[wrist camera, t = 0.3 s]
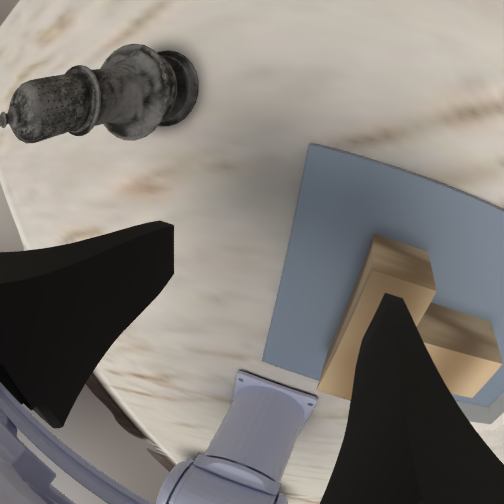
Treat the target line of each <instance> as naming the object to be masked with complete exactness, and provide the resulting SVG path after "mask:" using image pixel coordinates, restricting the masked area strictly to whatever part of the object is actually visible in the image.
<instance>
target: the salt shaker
mask: <svg viewBox="0 0 504 504" xmlns="http://www.w3.org/2000/svg"><path fill="white" fill-rule="evenodd" d="M197 95H198V78H197V73H196V70H195V69H194V67H193V65H192V63H191V62H190V61H189V60H188V59H187V58H186V57H185V56H183V55H182V54H180V53H178V52H173V51H162V52H158V53H156V52H155V51H154V50H153V49H151V48H149V47H147V46H145V45H139V44H130V45H126V46H122V47H121V48H119V49H117V50H116V51H114V52H113V53H112V54H111V55H110V56H109V57H108V58H107V59H106V61H105V62H104V64H103V65H102V67H101V69H96V70H91V69H89V68H88V67H86V66H82V65H78V66H74V67H72V68H71V69H69V70H68V71H67V72H66V73H65V75H58V76H51V77H45V78H40V79H34V80H30V81H27V82H25V83H23V84H22V85H21V86H20V87H19V88H18V89H17V90H16V91H15V93H14V94H13V97H12V99H11V102H10V106H9V110H8V113H7V114H5V113H4V112H2V113H1V115H0V126H2V127H3V128H5V127H6V125H7V124H9V125H10V126H11V128H12V131H13V132H14V134H15V135H16V137H17V138H18V139H19V140H21V141H23V142H25V143H36V142H39V141H42V140H45V139H48V138H51V137H54V136H57V135H60V134H63V133H66V132H69V133H70V134H72V135H75V136H83V135H85V134H87V133H89V131H90V130H91V129H92V128H93V127H94V126H96V125H100V124H104V126H105V127H106V128H107V130H108V131H109V132H111V133H112V134H113V135H115V136H116V137H118V138H121V139H123V140H137V139H140V138H143V137H146V136H147V135H149V134H150V133H151V132H153V131H154V130H155V129H156V127H157V126H170V125H174V124H177V123H178V122H180V121H182V120H183V119H185V117H186V116H187V115H188V114H189V113H190V112H191V110H192V108H193V106H194V105H195V103H196V99H197Z"/></svg>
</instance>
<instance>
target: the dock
mask: <svg viewBox="0 0 504 504" xmlns="http://www.w3.org/2000/svg"><path fill="white" fill-rule="evenodd" d="M456 402H457V404H458V406H459V407H460V409H461V410H462V412H463V413H464V415H465V416H466V417H467V419H468V420H469V422H470V423H471V425H472V426H473V427H474V429H475V430H476V432H478V433H481V432H482V431H483V430H487V431H496V430H497V429H498V428H499V427H500V426H502V425H503V424H504V392H503V393H502V394H501V395H500V396H499V397H498V398H497V399H496V400H495V401H494V402H493V403H492V404H491V405H490V406H489V407H485V406H480V405H474V404H469V403H464V402H459V401H456Z"/></svg>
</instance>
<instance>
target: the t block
mask: <svg viewBox="0 0 504 504" xmlns="http://www.w3.org/2000/svg"><path fill="white" fill-rule="evenodd" d="M436 292H437V290H436V285H435V281H434V276H433V271H432V267H431V263H430V259H429V254H428V252H427V251H424V250H421V249H418V248H415V247H412V246H409V245H406V244H403V243H400V242H397V241H394V240H391V239H388V238H385V237H382V236H379V235H376V234H374V235H373V238H372V241H371V244H370V247H369V250H368V252H367V255H366V258H365V261H364V263H363V266H362V269H361V271H360V274H359V277H358V279H357V282H356V285H355V287H354V290H353V292H352V295H351V297H350V300H349V302H348V305H347V307H346V310H345V312H344V314H343V317H342V319H341V321H340V324H339V326H338V328H337V331H336V333H335V335H334V338H333V340H332V342H331V344H330V347H329V349H328V352H327V356H326V359H325V363H324V366H323V370H322V373H321V377H320V380H319V383H318V387H317V391H320V392H324V393H327V394H330V395H333V396H337V397H340V398H344V399H347V400H351V396H352V389H353V382H354V375H355V368H356V363H357V359H358V354H359V350H360V346H361V342H362V338H363V337H364V335H365V333H366V331H367V329H368V327H369V325H370V323H371V321H372V319H373V317H374V315H375V313H376V311H377V308H378V306H379V304H380V302H381V300H382V298H383V296H384V294H385V293H388V294H391V295H394V296H397V297H400V298H403V300H404V302H405V303H406V306H407V308H408V310H409V312H410V314H411V316H412V318H413V321H414V323H415V325H416V327H417V329H418V331H419V333H420V336H421V338H422V340H423V342H424V344H425V346H426V348H427V350H428V352H429V354H430V356H431V358H432V360H433V362H434V364H435V366H436V368H437V370H438V372H439V373H440V375H441V377H442V379H443V381H444V382H445V384H446V386H447V388H448V389H449V391H450V392H451V394H455V395H460V396H465V397H470V398H473V397H474V396H475V395H476V394H477V392H478V391H479V390H480V389H481V388H482V387H483V386H484V385H485V384H486V383H487V382H488V381H489V379H490V378H491V377H492V376H493V375H494V374H495V373H496V371H497V370H498V369H499V368H500V367H501V365H502V364H503V363H502V359H501V355H500V351H499V348H498V344H497V340H496V337H495V334H494V330H493V327H492V324H491V322H490V321H487V320H484V319H481V318H478V317H474V316H471V315H468V314H465V313H462V312H459V311H456V310H453V309H450V308H447V307H444V306H440V305H437V304H434V303H431V301H432V299H433V297H434V295H435V293H436Z"/></svg>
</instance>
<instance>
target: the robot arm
mask: <svg viewBox="0 0 504 504" xmlns="http://www.w3.org/2000/svg"><path fill="white" fill-rule="evenodd" d="M173 274H174V225H172V224H169V223H165V222H162V221H154V222H149V223H145V224H141V225H137V226H133V227H130V228H126V229H122V230H119V231H115V232H112V233H109V234H105V235H101V236H98V237H94V238H90V239H86V240H82V241H79V242H75V243H70V244H66V245H61V246H55V247H50V248H44V249H36V250H27V251H19V252H0V504H75V503H74V502H73V501H71V500H70V499H69V498H67V497H66V496H65V495H64V494H62V493H61V492H60V491H59V490H57V489H56V488H55V487H54V486H52V485H51V484H50V483H51V482H52V481H53V480H54V478H55V477H56V474H55V473H54V472H53V471H52V470H51V469H50V468H49V467H48V466H47V465H46V464H45V463H44V462H42V461H41V460H40V459H39V458H38V457H37V456H36V455H35V454H34V453H33V452H32V451H30V450H29V449H28V448H27V447H26V446H25V445H24V444H23V443H22V442H21V441H20V440H19V439H18V438H17V428H18V429H19V430H20V431H21V432H22V433H23V434H24V435H25V436H26V437H27V438H28V439H29V440H30V441H31V442H32V443H33V444H34V445H35V446H36V447H37V448H38V449H40V451H42V452H43V453H44V454H45V455H46V456H47V457H48V458H49V459H51V460H52V461H53V462H54V463H55V464H56V465H58V466H59V467H60V468H61V469H62V470H63V471H65V472H66V473H67V474H68V475H70V476H71V477H72V478H73V479H75V480H76V481H78V482H79V483H80V484H81V485H83V486H84V487H86V488H87V489H88V490H89V491H91V492H92V493H93V494H95V495H96V496H98V497H99V498H101V499H102V500H104V501H105V502H107V503H108V504H153V503H151V502H150V501H148V500H146V499H144V498H142V497H141V496H139V495H137V494H136V493H134V492H132V491H131V490H129V489H127V488H126V487H124V486H123V485H121V484H119V483H118V482H116V481H115V480H113V479H112V478H110V477H109V476H107V475H106V474H104V473H103V472H101V471H100V470H98V469H97V468H96V467H94V466H93V465H91V464H90V463H89V462H87V461H86V460H85V459H83V458H82V457H81V456H79V455H78V454H76V453H75V452H74V451H73V450H72V449H70V448H69V447H68V446H67V445H65V444H64V443H63V442H62V441H60V440H59V439H58V438H57V437H56V436H55V435H53V434H52V433H51V432H50V431H49V430H47V428H45V427H44V426H43V425H42V424H41V423H40V422H39V421H38V420H37V419H35V417H33V416H32V415H31V414H30V413H29V412H28V411H27V410H26V409H25V408H24V407H23V406H22V404H23V403H24V404H25V405H26V406H27V407H28V408H29V409H30V410H34V411H35V412H36V413H37V414H38V415H39V416H40V417H41V418H42V419H44V420H45V421H46V422H47V423H48V424H49V425H50V426H51V427H53V428H61V427H63V425H64V423H65V421H66V419H67V417H68V415H69V413H70V411H71V408H72V407H73V404H74V402H75V401H76V399H77V397H78V395H79V393H80V392H81V390H82V388H83V387H84V385H85V383H86V381H87V380H88V378H89V377H90V375H91V374H92V372H93V371H94V369H95V368H96V366H97V365H98V363H99V362H100V360H101V359H102V357H103V356H104V355H105V353H106V352H107V351H108V349H109V348H110V346H111V345H112V344H113V342H114V341H115V340H116V339H117V338H118V337H119V335H120V334H121V333H122V332H123V331H124V330H125V329H126V328H127V327H128V326H129V325H130V324H131V323H132V322H133V321H134V320H135V319H136V318H137V317H138V316H139V315H140V314H141V313H142V312H143V310H144V309H145V308H146V307H147V306H148V305H149V304H150V303H151V302H152V301H153V300H154V299H155V298H156V297H157V296H158V295H159V294H160V292H161V291H162V290H163V288H164V287H165V286H166V284H167V283H168V281H169V280H170V279H171V277H172V276H173ZM317 400H318V399H317V398H316V397H315V396H312V395H308V394H305V393H302V392H299V391H296V390H293V389H290V388H287V387H284V386H282V385H279V384H276V383H273V382H270V381H267V380H265V379H262V378H259V377H257V376H254V375H251V374H249V373H246V372H243V371H239V372H238V373H237V376H236V382H235V389H234V395H233V401H232V405H231V407H230V409H229V410H228V412H227V414H226V416H225V418H224V420H223V421H222V423H221V425H220V427H219V429H218V431H217V432H216V434H215V436H214V438H213V440H212V441H211V443H210V445H209V447H208V448H207V450H206V452H205V454H204V455H202V454H198V456H197V458H196V459H195V461H194V460H192V459H187V460H185V461H182V462H180V463H178V464H177V465H176V466H175V467H174V468H173V469H172V470H171V472H170V473H169V474H168V476H167V478H166V479H165V481H164V483H163V484H162V486H161V489H160V491H159V493H158V497H157V502H156V504H288V501H287V499H286V497H285V494H283V493H278V491H279V489H280V486H281V483H279V482H280V480H281V477H282V475H283V472H284V470H285V467H286V465H287V462H288V459H289V457H290V454H291V451H292V449H293V446H294V443H295V441H296V438H297V435H298V433H299V432H300V430H301V428H302V427H303V425H304V424H305V422H306V420H307V419H308V417H309V415H310V414H311V412H312V410H313V409H314V407H315V405H316V403H317ZM16 427H17V428H16ZM277 493H278V494H277ZM320 504H504V464H503V463H502V462H501V461H500V460H499V459H498V458H497V457H496V455H495V454H494V453H493V452H492V450H491V449H490V448H489V447H488V446H487V444H486V443H485V442H484V441H483V439H482V438H481V437H480V435H479V434H478V433H477V432H476V430H475V429H474V427H473V426H472V425H471V423H470V422H469V420H468V419H467V417H466V416H465V415H464V413H463V412H462V410H461V409H460V407H459V406H458V404H457V402H456V401H455V399H454V397H453V396H452V394H451V392H450V391H449V389H448V388H447V386H446V384H445V382H444V381H443V379H442V377H441V375H440V373H439V372H438V370H437V368H436V366H435V364H434V362H433V360H432V358H431V356H430V354H429V352H428V350H427V348H426V346H425V344H424V342H423V340H422V338H421V336H420V333H419V331H418V329H417V327H416V325H415V323H414V321H413V318H412V316H411V314H410V312H409V310H408V308H407V306H406V303H405V302H404V300H403V298H400V297H397V296H394V295H391V294H388V293H385V294H384V296H383V298H382V300H381V302H380V304H379V306H378V308H377V311H376V313H375V315H374V317H373V319H372V321H371V323H370V325H369V327H368V329H367V331H366V333H365V335H364V337H363V338H362V342H361V346H360V350H359V354H358V359H357V363H356V368H355V375H354V382H353V389H352V396H351V403H350V410H349V416H348V422H347V427H346V431H345V436H344V439H343V443H342V446H341V449H340V452H339V455H338V458H337V461H336V464H335V467H334V470H333V472H332V475H331V478H330V480H329V483H328V486H327V488H326V490H325V493H324V495H323V498H322V500H321V502H320Z"/></svg>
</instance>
